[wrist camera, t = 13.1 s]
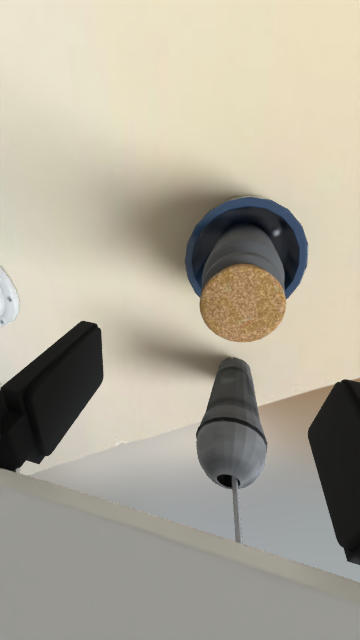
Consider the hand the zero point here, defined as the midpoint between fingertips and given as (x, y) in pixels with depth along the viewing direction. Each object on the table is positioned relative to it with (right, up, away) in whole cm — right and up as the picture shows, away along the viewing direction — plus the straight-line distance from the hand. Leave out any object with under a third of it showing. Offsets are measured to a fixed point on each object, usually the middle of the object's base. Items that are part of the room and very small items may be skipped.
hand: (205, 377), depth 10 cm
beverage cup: (+7, -5, +25) cm, 27 cm away
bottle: (+6, +10, +17) cm, 20 cm away
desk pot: (+6, +10, +17) cm, 21 cm away
